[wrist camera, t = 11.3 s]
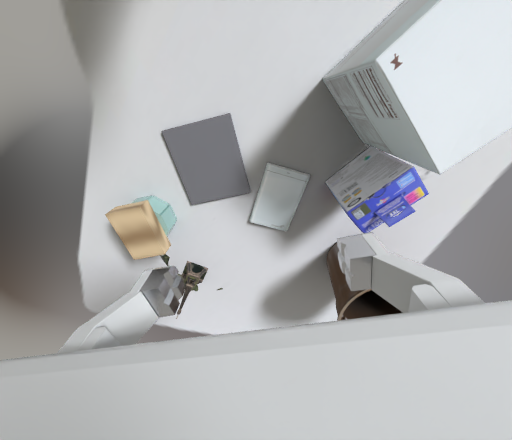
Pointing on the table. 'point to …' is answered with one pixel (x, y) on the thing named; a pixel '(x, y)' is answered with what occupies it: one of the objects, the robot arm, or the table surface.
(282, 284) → the table surface
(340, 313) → the plant pot
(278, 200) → the hard drive
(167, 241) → the lid
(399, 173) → the ink cartridge box
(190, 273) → the eiffel tower figurine
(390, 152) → the supplement box
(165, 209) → the bowl
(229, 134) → the mat
